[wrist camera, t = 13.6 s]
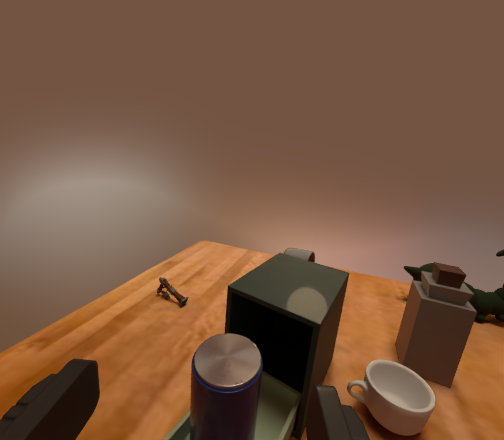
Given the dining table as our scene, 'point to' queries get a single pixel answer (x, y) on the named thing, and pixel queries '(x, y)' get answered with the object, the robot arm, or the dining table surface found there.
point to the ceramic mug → (301, 254)
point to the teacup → (395, 397)
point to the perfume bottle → (436, 324)
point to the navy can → (225, 388)
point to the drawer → (262, 412)
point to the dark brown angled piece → (173, 292)
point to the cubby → (290, 320)
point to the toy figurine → (484, 303)
